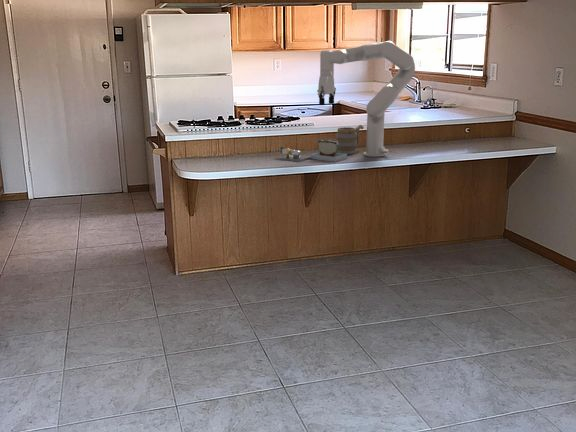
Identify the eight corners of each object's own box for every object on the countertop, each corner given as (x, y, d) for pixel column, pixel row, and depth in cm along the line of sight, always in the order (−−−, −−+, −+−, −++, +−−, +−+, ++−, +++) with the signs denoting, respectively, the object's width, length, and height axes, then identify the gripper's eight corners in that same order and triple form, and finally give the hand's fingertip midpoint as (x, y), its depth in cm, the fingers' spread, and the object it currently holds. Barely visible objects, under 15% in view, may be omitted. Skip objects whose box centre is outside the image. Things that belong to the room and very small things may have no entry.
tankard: (345, 155, 345) (345, 128, 341) (331, 152, 355) (331, 126, 351) (370, 151, 356) (371, 125, 352) (356, 148, 366) (356, 123, 362)
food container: (342, 157, 334) (342, 139, 331) (337, 159, 329) (337, 141, 326) (322, 155, 340) (322, 137, 338) (317, 157, 335) (317, 139, 332)
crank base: (311, 158, 335) (311, 147, 334) (299, 161, 326) (298, 150, 325) (293, 156, 343) (293, 145, 341) (280, 159, 334) (280, 148, 332)
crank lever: (301, 156, 335) (301, 148, 333) (298, 157, 331) (298, 149, 330) (282, 154, 341) (282, 146, 340) (278, 155, 338) (278, 147, 337)
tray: (347, 158, 334) (347, 154, 333) (335, 161, 325) (335, 157, 325) (322, 155, 344) (322, 151, 343) (310, 158, 335) (310, 154, 334)
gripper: (329, 72, 345) (329, 102, 350) (312, 73, 332) (312, 105, 337) (340, 72, 341) (340, 103, 346) (323, 74, 328) (323, 106, 332)
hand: (326, 104), depth 341 cm, fingers open, 9 cm apart
